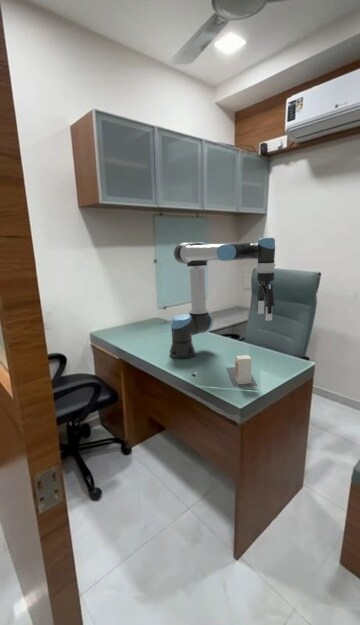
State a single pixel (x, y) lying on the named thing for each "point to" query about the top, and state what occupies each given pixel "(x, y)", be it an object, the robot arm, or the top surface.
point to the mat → (233, 379)
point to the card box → (243, 369)
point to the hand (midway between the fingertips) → (264, 317)
